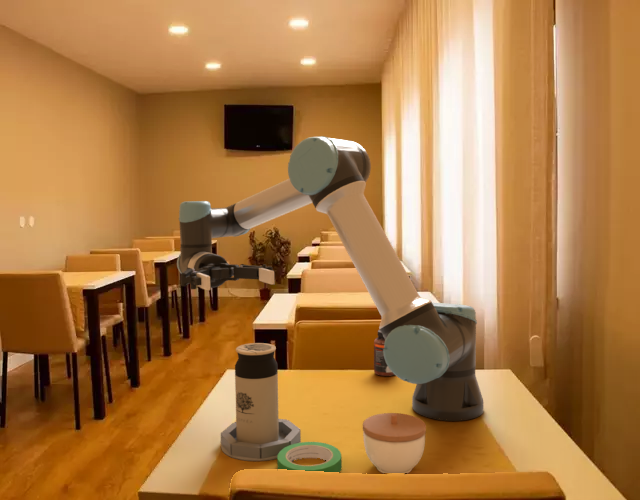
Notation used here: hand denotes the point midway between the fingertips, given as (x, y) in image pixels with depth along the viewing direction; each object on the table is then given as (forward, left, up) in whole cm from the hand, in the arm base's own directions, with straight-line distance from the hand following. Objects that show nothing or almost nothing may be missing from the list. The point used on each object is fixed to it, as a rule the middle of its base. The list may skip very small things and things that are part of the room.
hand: (241, 280), depth 122 cm
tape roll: (-19, +15, -31) cm, 39 cm away
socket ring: (-7, +8, -30) cm, 32 cm away
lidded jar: (-33, +11, -30) cm, 46 cm away
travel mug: (-6, +7, -30) cm, 31 cm away
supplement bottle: (-21, -42, -30) cm, 56 cm away
